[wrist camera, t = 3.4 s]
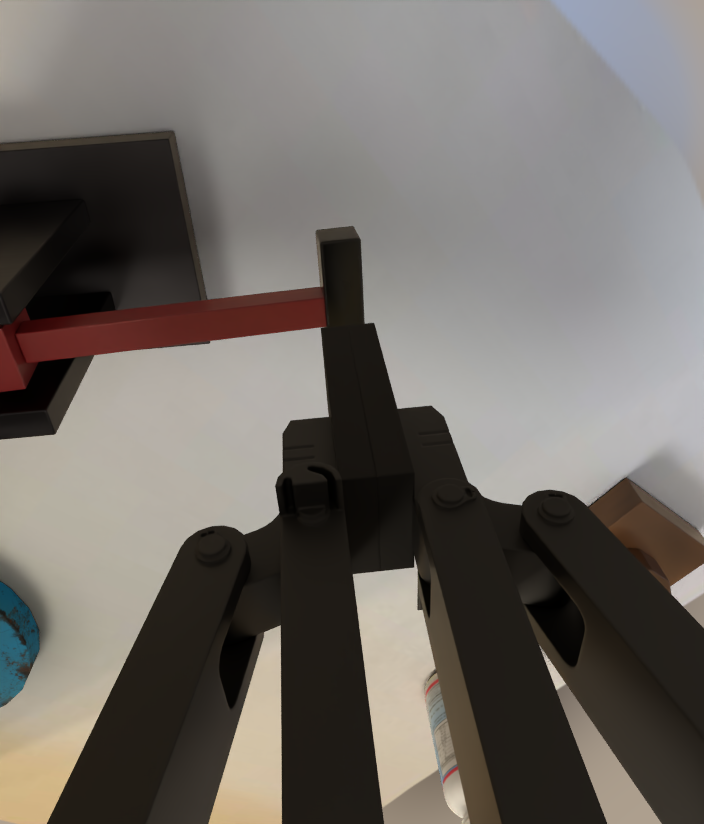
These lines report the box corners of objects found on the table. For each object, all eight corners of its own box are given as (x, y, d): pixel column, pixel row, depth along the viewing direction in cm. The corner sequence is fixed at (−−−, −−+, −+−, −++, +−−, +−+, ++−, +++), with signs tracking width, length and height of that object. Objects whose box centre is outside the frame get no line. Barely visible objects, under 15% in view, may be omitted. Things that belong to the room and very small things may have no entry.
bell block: (625, 477, 39) (657, 523, 36) (698, 530, 42) (733, 577, 39) (486, 588, 44) (502, 638, 41) (561, 628, 47) (582, 677, 44)
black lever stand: (174, 130, 26) (117, 212, 17) (212, 329, 31) (184, 471, 22) (-130, 153, 26) (-349, 248, 17) (-40, 351, 31) (-171, 505, 22)
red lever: (351, 219, 22) (364, 243, 20) (358, 348, 25) (369, 380, 23) (-86, 266, 20) (-118, 296, 18) (-25, 397, 23) (-48, 436, 21)
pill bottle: (497, 700, 52) (544, 858, 42) (422, 709, 51) (453, 870, 42) (503, 654, 48) (555, 815, 39) (422, 663, 48) (456, 827, 39)
